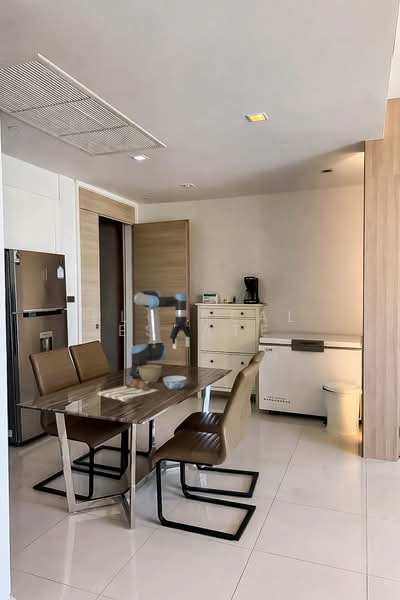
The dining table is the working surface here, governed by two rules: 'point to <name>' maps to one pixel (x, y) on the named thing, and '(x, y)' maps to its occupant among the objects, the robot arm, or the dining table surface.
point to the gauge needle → (136, 383)
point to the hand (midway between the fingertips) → (181, 347)
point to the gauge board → (124, 393)
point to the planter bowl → (150, 372)
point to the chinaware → (174, 382)
